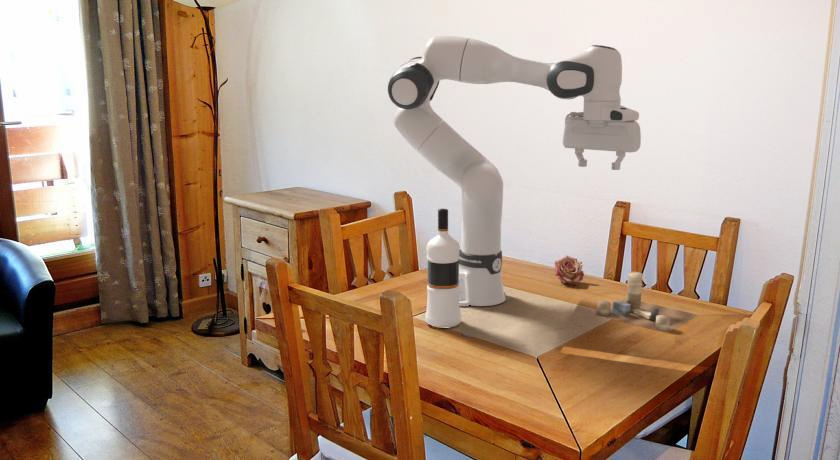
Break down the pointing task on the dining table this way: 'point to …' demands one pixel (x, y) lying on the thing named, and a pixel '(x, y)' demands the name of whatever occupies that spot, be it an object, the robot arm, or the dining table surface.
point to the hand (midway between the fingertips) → (598, 168)
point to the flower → (569, 270)
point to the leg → (638, 296)
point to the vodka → (443, 277)
